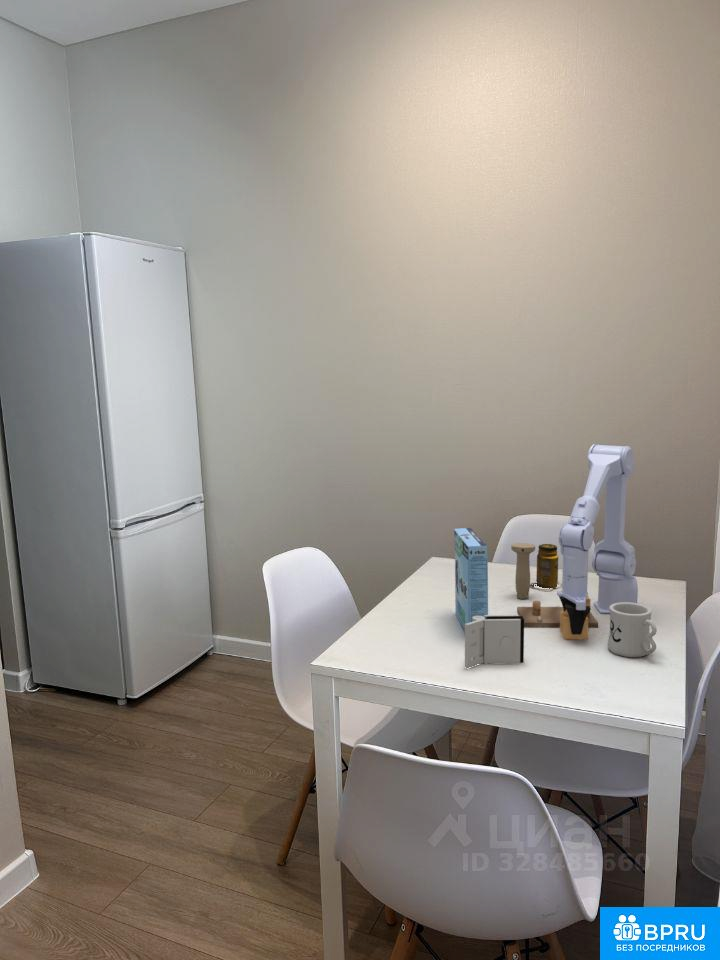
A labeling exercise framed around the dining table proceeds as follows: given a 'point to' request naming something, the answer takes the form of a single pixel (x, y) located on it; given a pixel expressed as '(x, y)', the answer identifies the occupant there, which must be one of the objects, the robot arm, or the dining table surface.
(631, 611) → the mug
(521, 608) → the junction board
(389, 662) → the dining table surface
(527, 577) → the handle
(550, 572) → the condiment
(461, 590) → the gum box
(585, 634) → the cube with round boss
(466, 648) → the hinge
